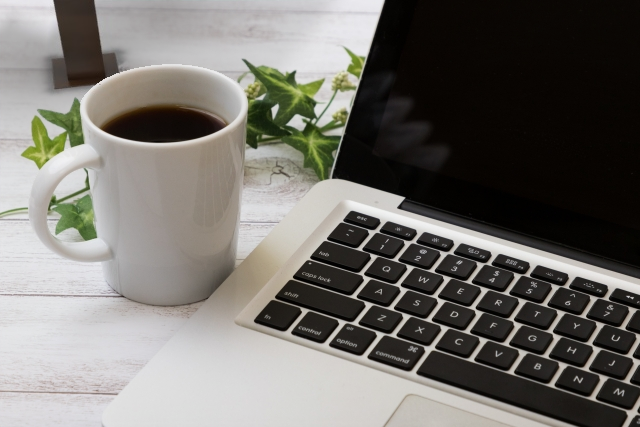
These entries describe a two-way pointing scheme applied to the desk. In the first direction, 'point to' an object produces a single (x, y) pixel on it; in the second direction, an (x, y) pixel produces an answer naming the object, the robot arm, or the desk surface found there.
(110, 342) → the desk surface
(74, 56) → the brown post on base
